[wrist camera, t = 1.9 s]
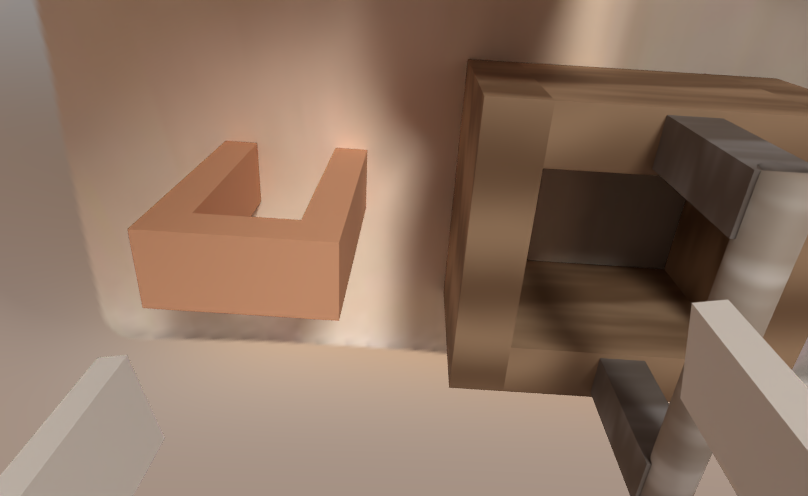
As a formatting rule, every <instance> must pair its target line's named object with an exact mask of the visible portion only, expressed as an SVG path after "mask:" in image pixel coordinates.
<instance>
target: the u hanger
mask: <svg viewBox="0 0 808 496" xmlns="http://www.w3.org/2000/svg"><path fill="white" fill-rule="evenodd" d="M366 180H367V150H358V149H343V148H336V149H335V151H334V153H333V155H332V157H331V159H330V161H329V163H328V165H327V167H326V169H325V172H324V174H323V176H322V178H321V180H320V182H319V184H318V186H317V188H316V190H315V192H314V195H313V197H312V199H311V201H310V203H309V205H308V207H307V209H306V211H305V213H304V215H303V218H302V220H291V219H276V218H260V217H251V215H252V214H253V213H254V211H255V210H256V208H257V207H258V205H259V204H260V202H261V193H260V179H259V165H258V150H257V143H248V142H232V141H225V142H224V143H223V144H222V145H221V146H219V147H218V148H217V149H216V150H215V151H214V152H213V153H212V154H211V155H209V156H208V157H207V158H206V159H205V160H204V161H203V162H202V163H201V164H199V165H198V166H197V167H196V168H195V169H194V170H193V171H192V172H191V173H189V174H188V175H187V176H186V177H185V178H184V179H183V180H182V181H181V182H179V183H178V184H177V185H176V186H175V187H174V188H173V189H172V190H171V191H169V192H168V193H167V194H166V195H165V196H164V197H163V198H162V199H160V200H159V201H158V202H157V203H156V204H155V205H154V206H153V207H152V208H150V209H149V210H148V211H147V212H146V213H145V214H144V215H143V216H142V217H140V218H139V219H138V220H137V221H136V222H135V223H134V224H133V225H132V226H130V227H129V228H128V234H129V240H130V245H131V250H132V255H133V260H134V265H135V270H136V275H137V281H138V286H139V291H140V296H141V301H142V306H143V308H152V309H167V310H183V311H198V312H214V313H229V314H244V315H260V316H275V317H291V318H306V319H322V320H337V321H339V318H340V314H341V310H342V306H343V301H344V297H345V293H346V289H347V285H348V281H349V276H350V272H351V268H352V264H353V260H354V255H355V251H356V247H357V243H358V239H359V234H360V230H361V226H362V222H363V218H364V214H365V209H366Z"/></svg>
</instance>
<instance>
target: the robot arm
mask: <svg viewBox="0 0 808 496" xmlns="http://www.w3.org/2000/svg"><path fill="white" fill-rule="evenodd" d="M680 399H681V400H682V402H683V404H684V405H685V407H686V409H687V410H688V412H689V414H690V416H691V417H692V419H693V421H694V422H695V424H696V426H697V427H698V429H699V431H700V433H701V434H702V436H703V438H704V439H705V441H706V443H707V444H708V446H709V448H710V450H711V451H712V453H713V455H714V456H715V458H716V460H717V461H718V463H719V465H720V467H721V468H722V470H723V472H724V473H725V475H726V477H727V478H728V480H729V482H730V484H731V485H732V487H733V489H734V490H735V492H736V494H737V495H738V496H808V388H807V386H806V385H805V384H804V383H803V382H802V381H801V380H800V379H799V378H798V376H797V375H796V374H795V373H794V372H793V371H792V370H791V369H790V368H789V366H788V365H787V364H786V363H785V362H784V361H783V360H782V359H781V358H780V356H779V355H778V354H777V353H776V352H775V351H774V350H773V349H772V348H771V346H770V345H769V344H768V343H767V342H766V341H765V340H764V339H763V338H762V337H761V335H760V334H759V333H758V332H757V331H756V330H755V329H754V328H753V327H752V325H751V324H750V323H749V322H748V321H747V320H746V319H745V318H744V317H743V315H742V314H741V313H740V312H739V311H738V310H737V309H736V308H735V307H734V305H733V304H732V303H731V302H730V301H729V300H717V301H706V302H696V303H692V305H691V313H690V321H689V330H688V338H687V346H686V355H685V363H684V371H683V380H682V388H681V396H680ZM164 439H165V437H164V435H163V432H162V430H161V428H160V426H159V424H158V421H157V419H156V417H155V415H154V413H153V411H152V408H151V406H150V404H149V402H148V399H147V397H146V395H145V393H144V391H143V389H142V386H141V384H140V382H139V380H138V378H137V376H136V373H135V371H134V369H133V366H132V364H131V362H130V360H129V358H128V355H122V356H110V357H100V358H97V359H96V360H95V361H94V363H93V364H92V365H91V366H90V367H89V369H88V370H87V371H86V372H85V373H84V375H83V376H82V377H81V378H80V380H79V381H78V382H77V383H76V384H75V385H74V387H73V388H72V389H71V390H70V392H69V393H68V394H67V395H66V396H65V398H64V399H63V400H62V401H61V402H60V404H59V405H58V406H57V407H56V409H55V410H54V411H53V412H52V413H51V415H50V416H49V417H48V418H47V419H46V421H45V422H44V423H43V424H42V425H41V427H40V428H39V429H38V430H37V431H36V433H35V434H34V435H33V436H32V438H31V439H30V440H29V441H28V442H27V443H26V445H25V446H24V447H23V448H22V450H21V451H20V452H19V453H18V455H17V456H16V457H15V458H14V459H13V460H12V462H11V463H10V464H9V465H8V466H7V468H6V469H5V470H4V471H3V472H2V474H1V475H0V496H133V495H134V494H135V492H136V490H137V488H138V486H139V485H140V483H141V481H142V479H143V477H144V476H145V473H146V472H147V470H148V468H149V466H150V465H151V463H152V461H153V459H154V457H155V455H156V453H157V452H158V450H159V448H160V446H161V444H162V443H163V441H164Z"/></svg>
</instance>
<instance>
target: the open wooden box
mask: <svg viewBox="0 0 808 496" xmlns="http://www.w3.org/2000/svg"><path fill="white" fill-rule="evenodd" d="M543 168H547V169H562V170H578V171H594V172H610V173H625V174H641V175H657V176H661V177H662V178H663V179H664V180H665V181H666V182H667V183H668V184H670V185H671V186H672V187H673V188H674V189H675V190H676V191H677V192H678V193H679V194H681V195H682V196H683V197H684V198H685V199H686V201H685V205H684V208H683V211H682V214H681V217H680V220H679V224H678V227H677V230H676V233H675V236H674V240H673V243H672V246H671V249H670V252H669V256H668V259H667V262H666V265H665V268H664V269H653V268H638V267H622V266H607V265H591V264H575V263H560V262H544V261H529V260H527V255H528V250H529V244H530V238H531V233H532V227H533V222H534V216H535V211H536V205H537V200H538V194H539V188H540V183H541V177H542V172H543ZM717 300H729V301H730V302H731V303H732V304H733V305H734V307H735V308H736V309H737V310H738V311H739V312H740V313H741V314H742V315H743V317H744V318H745V319H746V320H747V321H748V322H749V323H750V324H751V325H752V327H753V328H754V329H755V330H756V331H757V332H758V333H759V334H760V335H761V337H762V338H763V339H764V340H765V341H766V342H767V343H768V344H769V345H770V346H771V348H772V349H773V350H774V351H775V352H776V353H777V354H778V355H779V356H780V358H781V359H782V360H783V361H784V362H785V363H786V364H787V365H788V366H789V368H790V369H791V370H792V368H793V366H794V364H795V362H796V360H797V358H798V356H799V354H800V352H801V350H802V348H803V346H804V343H805V341H806V339H807V337H808V89H806V88H803V87H800V86H797V85H794V84H791V83H788V82H785V81H782V80H779V79H774V78H758V77H742V76H727V75H711V74H695V73H679V72H663V71H647V70H631V69H615V68H599V67H583V66H567V65H551V64H535V63H519V62H504V61H488V60H472V59H468V63H467V72H466V82H465V92H464V101H463V111H462V120H461V130H460V140H459V149H458V159H457V169H456V178H455V188H454V197H453V207H452V217H451V226H450V236H449V246H448V255H447V265H446V275H445V284H444V306H445V323H446V341H447V358H448V375H449V387H450V388H466V389H481V390H496V391H497V390H498V391H511V392H526V393H542V394H557V395H572V396H573V395H574V396H589V397H592V398H593V400H594V403H595V405H596V408H597V411H598V413H599V416H600V418H601V421H602V424H603V426H604V429H605V431H606V434H607V437H608V439H609V442H610V444H611V447H612V449H613V452H614V455H615V457H616V460H617V462H618V465H619V468H620V470H621V473H622V475H623V478H624V481H625V483H626V486H627V488H628V491H629V493H630V496H694V494H695V491H696V489H697V487H698V484H699V482H700V480H701V478H702V475H703V473H704V471H705V468H706V466H707V464H708V462H709V459H710V457H711V455H712V451H711V450H710V448H709V446H708V444H707V443H706V441H705V439H704V438H703V436H702V434H701V433H700V431H699V429H698V427H697V426H696V424H695V422H694V421H693V419H692V417H691V416H690V414H689V412H688V410H687V409H686V407H685V405H684V404H683V402H682V400H681V399H680V396H681V388H682V380H683V371H684V363H685V355H686V346H687V338H688V330H689V321H690V313H691V305H692V303H696V302H706V301H717ZM668 402H670V403H668Z"/></svg>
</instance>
